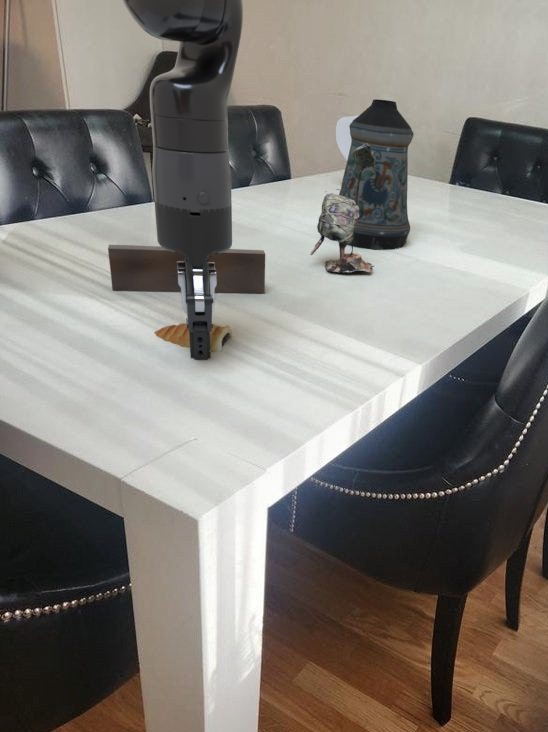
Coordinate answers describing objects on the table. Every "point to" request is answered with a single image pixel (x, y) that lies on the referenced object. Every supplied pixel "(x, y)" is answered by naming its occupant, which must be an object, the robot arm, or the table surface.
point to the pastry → (181, 335)
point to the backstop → (160, 272)
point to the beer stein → (380, 177)
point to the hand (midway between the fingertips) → (200, 359)
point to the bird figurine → (344, 220)
